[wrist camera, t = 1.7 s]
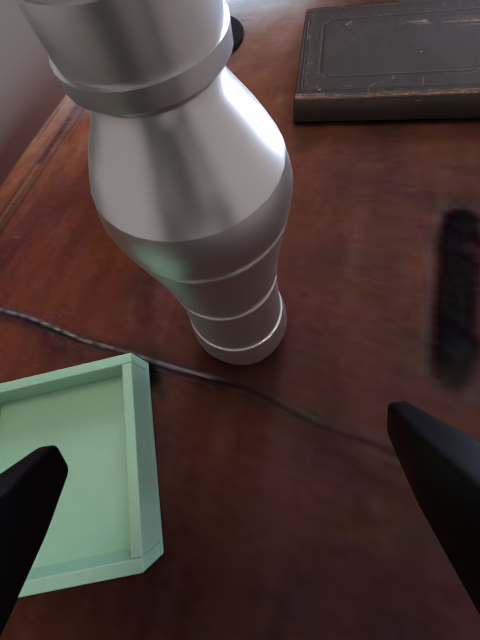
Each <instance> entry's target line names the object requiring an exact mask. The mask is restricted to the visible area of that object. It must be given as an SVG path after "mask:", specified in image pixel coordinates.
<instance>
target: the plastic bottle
mask: <svg viewBox="0 0 480 640" xmlns="http://www.w3.org/2000/svg"><path fill="white" fill-rule="evenodd" d="M15 2H16V3H17V5H18V6H19V8H20V10H21V11H22V13H23V15H24V16H25V18H26V19H27V21H28V23H29V24H30V26H31V28H32V29H33V31H34V32H35V34H36V36H37V37H38V39H39V40H40V42H41V44H42V45H43V47H44V48H45V50H46V52H47V53H48V55H49V63H50V66H51V68H52V70H53V72H54V74H55V76H56V77H57V79H58V81H59V82H60V84H61V85H62V87H63V88H64V90H65V92H66V93H67V95H68V96H69V97H70V98H71V99H72V100H73V101H74V102H75V103H76V104H78V105H80V106H82V107H83V108H85V109H87V110H91V115H90V128H89V141H88V163H89V182H90V189H91V196H92V198H93V201H94V204H95V206H96V209H97V211H98V214H99V217H100V219H101V222H102V224H103V226H104V229H105V231H106V233H107V234H108V235H109V236H110V238H111V239H112V240H113V242H114V243H115V244H116V245H117V246H118V247H119V248H120V249H121V250H122V251H123V252H124V253H125V254H126V255H127V256H128V257H129V258H130V259H131V260H133V261H134V262H135V263H136V264H138V265H139V266H140V267H142V268H143V269H144V270H145V271H146V272H148V273H149V274H150V275H151V276H153V277H154V278H155V279H156V280H157V281H159V282H160V283H161V284H162V285H164V286H165V287H166V288H167V289H168V290H169V291H170V292H171V293H172V294H173V295H174V296H175V298H176V299H177V300H178V301H179V302H180V303H181V304H182V305H183V306H184V308H185V309H186V311H187V313H188V315H189V317H190V321H191V325H192V328H193V331H194V333H195V336H196V338H197V340H198V342H199V343H200V345H201V346H202V347H203V348H204V350H205V351H207V352H208V353H209V354H210V355H211V356H213V357H215V358H217V359H219V360H221V361H224V362H227V363H230V364H235V365H249V364H253V363H256V362H259V361H261V360H263V359H265V358H266V357H267V356H269V355H270V354H271V353H272V352H273V351H274V350H275V349H276V347H277V346H278V345H279V343H280V342H281V340H282V338H283V336H284V333H285V329H286V323H287V316H286V310H285V306H284V302H283V300H282V297H281V295H280V293H279V290H278V285H277V280H276V275H277V262H278V254H279V250H280V246H281V242H282V238H283V234H284V230H285V226H286V222H287V218H288V214H289V211H290V203H291V196H292V187H293V172H292V168H291V163H290V159H289V156H288V153H287V149H286V146H285V143H284V140H283V137H282V135H281V133H280V131H279V129H278V127H277V125H276V124H275V122H274V121H273V120H272V118H271V117H270V116H269V114H268V113H267V112H266V110H265V109H264V108H263V106H262V105H261V104H260V102H259V101H258V100H257V98H256V97H255V96H254V95H253V94H252V93H251V92H250V91H249V90H248V89H247V88H246V87H245V86H244V85H243V84H242V83H241V82H240V81H239V79H238V78H237V77H236V76H235V75H234V74H233V73H232V72H231V71H230V70H229V69H228V68H227V67H226V64H227V62H228V60H229V58H230V56H231V54H232V49H233V44H234V42H233V35H232V27H231V20H230V13H229V7H228V5H227V3H226V2H225V0H15Z"/></svg>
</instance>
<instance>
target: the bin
mask: <svg viewBox="0 0 480 640" xmlns="http://www.w3.org/2000/svg"><path fill="white" fill-rule="evenodd" d="M50 445H54V446H56V447H58V449H59V450H60V452H61V454H62V456H63V458H64V460H65V461H66V463H67V465H68V475H67V478H66V481H65V484H64V487H63V490H62V492H61V495H60V498H59V501H58V504H57V506H56V509H55V512H54V515H53V518H52V520H51V523H50V526H49V529H48V531H47V534H46V536H45V539H44V541H43V543H42V546H41V548H40V550H39V552H38V554H37V557H36V559H35V561H34V563H33V565H32V568H31V570H30V572H29V574H28V576H27V579H26V581H25V583H24V585H23V587H22V590H21V592H20V594H19V596H18V598H19V597H24V596H29V595H34V594H39V593H44V592H49V591H54V590H59V589H64V588H70V587H75V586H80V585H85V584H90V583H95V582H100V581H105V580H110V579H115V578H120V577H125V576H130V575H135V574H140V573H143V572H144V571H145V570H146V569H147V568H149V567H150V566H151V565H152V564H153V563H154V562H155V561H156V560H157V559H158V558H159V557H160V556H161V555H162V554H163V553H164V551H163V539H162V526H161V514H160V502H159V489H158V477H157V464H156V452H155V440H154V427H153V415H152V403H151V390H150V378H149V366H148V362H145V361H144V360H142V359H140V358H138V357H137V356H135V355H133V354H131V353H129V354H124V355H120V356H116V357H112V358H107V359H103V360H99V361H95V362H90V363H86V364H82V365H78V366H73V367H69V368H65V369H61V370H56V371H52V372H48V373H44V374H39V375H35V376H31V377H27V378H22V379H18V380H14V381H10V382H5V383H1V384H0V474H1V473H2V472H4V471H5V470H6V469H8V468H9V467H11V466H12V465H14V464H15V463H17V462H18V461H20V460H21V459H22V458H24V457H25V456H27V455H28V454H30V453H31V452H33V451H34V450H36V449H37V448H39V447H42V446H50Z"/></svg>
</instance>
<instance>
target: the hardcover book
mask: <svg viewBox="0 0 480 640" xmlns="http://www.w3.org/2000/svg"><path fill="white" fill-rule="evenodd" d="M452 118H480V0H401V1H390V2H379V3H367V4H356V5H344V6H333V7H321V8H310V9H306V16H305V23H304V31H303V39H302V46H301V54H300V62H299V70H298V77H297V85H296V93H295V101H294V122H318V121H363V120H407V119H452Z"/></svg>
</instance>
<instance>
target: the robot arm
mask: <svg viewBox="0 0 480 640" xmlns="http://www.w3.org/2000/svg"><path fill="white" fill-rule="evenodd" d="M387 430H388V434H389V437H390V440H391V442H392V445H393V447H394V449H395V452H396V454H397V456H398V459H399V461H400V463H401V466H402V468H403V470H404V473H405V475H406V477H407V480H408V482H409V484H410V487H411V489H412V491H413V493H414V496H415V498H416V500H417V502H418V504H419V506H420V507H421V509H422V511H423V513H424V515H425V517H426V518H427V520H428V522H429V524H430V526H431V527H432V529H433V531H434V533H435V535H436V537H437V538H438V540H439V542H440V544H441V546H442V547H443V549H444V551H445V553H446V555H447V556H448V558H449V560H450V562H451V564H452V566H453V567H454V569H455V571H456V573H457V575H458V576H459V578H460V580H461V582H462V584H463V586H464V587H465V589H466V591H467V593H468V595H469V596H470V598H471V600H472V602H473V604H474V605H475V607H476V609H477V611H478V613H479V615H480V442H478V441H476V440H475V439H473V438H471V437H469V436H467V435H466V434H464V433H462V432H460V431H459V430H457V429H455V428H453V427H451V426H450V425H448V424H446V423H444V422H442V421H441V420H439V419H437V418H435V417H434V416H432V415H430V414H428V413H426V412H425V411H423V410H421V409H419V408H418V407H416V406H414V405H412V404H410V403H408V402H406V401H401V402H393V403H390V404H389V405H388V421H387ZM67 475H68V465H67V463H66V461H65V460H64V458H63V456H62V454H61V452H60V450H59V449H58V447H56V446H54V445H50V446H42V447H39V448H37V449H36V450H34V451H33V452H31V453H30V454H28V455H27V456H25V457H24V458H22V459H21V460H20V461H18V462H17V463H15V464H14V465H12V466H11V467H9V468H8V469H6V470H5V471H4V472H2V473H1V474H0V636H1V634H2V632H3V629H4V627H5V625H6V623H7V621H8V618H9V616H10V614H11V612H12V610H13V607H14V605H15V603H16V601H17V599H18V596H19V594H20V592H21V590H22V587H23V585H24V583H25V581H26V579H27V576H28V574H29V572H30V570H31V568H32V565H33V563H34V561H35V559H36V557H37V554H38V552H39V550H40V548H41V546H42V543H43V541H44V539H45V536H46V534H47V531H48V529H49V526H50V523H51V520H52V518H53V515H54V512H55V509H56V506H57V504H58V501H59V498H60V495H61V492H62V490H63V487H64V484H65V481H66V478H67Z"/></svg>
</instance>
